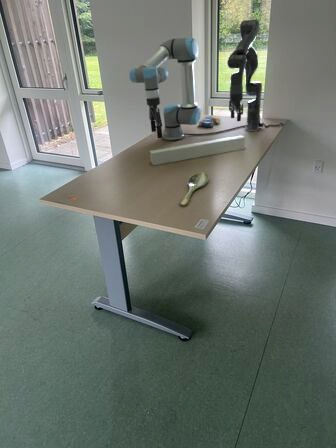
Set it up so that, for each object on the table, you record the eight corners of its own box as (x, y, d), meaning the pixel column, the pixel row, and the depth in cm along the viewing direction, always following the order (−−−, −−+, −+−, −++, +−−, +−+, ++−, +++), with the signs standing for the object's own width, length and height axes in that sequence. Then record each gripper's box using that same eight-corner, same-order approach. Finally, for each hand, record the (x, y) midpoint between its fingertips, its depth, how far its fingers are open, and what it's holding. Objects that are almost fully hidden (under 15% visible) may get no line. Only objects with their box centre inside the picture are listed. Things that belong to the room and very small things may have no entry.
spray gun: (223, 120, 277) (206, 120, 284) (223, 115, 275) (206, 115, 281) (214, 128, 262) (197, 127, 268) (214, 122, 260) (196, 122, 266)
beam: (153, 165, 204) (152, 153, 200) (151, 162, 208) (150, 150, 204) (244, 148, 217) (244, 137, 213) (240, 146, 221) (241, 135, 217)
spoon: (193, 209, 156) (193, 205, 155) (172, 207, 159) (171, 203, 158) (212, 175, 182) (212, 172, 181) (193, 174, 186) (193, 170, 184)
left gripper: (165, 100, 177) (169, 139, 189) (153, 92, 198) (157, 128, 209) (152, 102, 176) (156, 141, 187) (141, 94, 196) (145, 130, 208)
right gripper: (247, 93, 194) (246, 121, 203) (236, 89, 206) (235, 116, 214) (236, 95, 192) (235, 123, 201) (225, 91, 204) (225, 118, 213)
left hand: (156, 134), depth 198 cm, fingers open, 13 cm apart
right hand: (235, 119), depth 208 cm, fingers open, 8 cm apart
